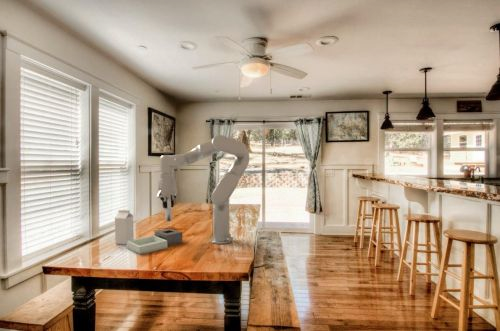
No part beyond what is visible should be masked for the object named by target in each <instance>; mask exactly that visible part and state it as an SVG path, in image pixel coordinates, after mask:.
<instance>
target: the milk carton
mask: <svg viewBox="0 0 500 331" xmlns="http://www.w3.org/2000/svg"><path fill="white" fill-rule="evenodd" d="M130 211H131V210H128V209H119V210H118V213H117V214H116V215H115V217H114V234H115V235H114V238H115V239H114V241H115V242H114V243H115V244H116V245H127V241H130V240H135V238H134V237H135V236H134V235H135V234H134V215H133V214H132V213H131V212H130Z"/></svg>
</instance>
